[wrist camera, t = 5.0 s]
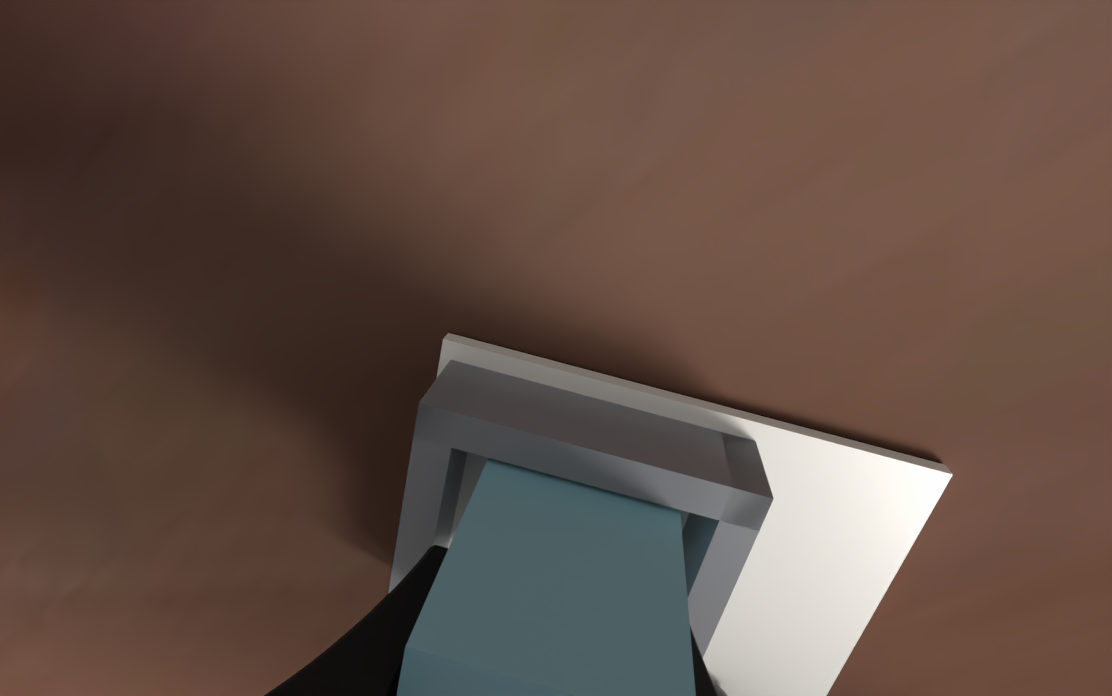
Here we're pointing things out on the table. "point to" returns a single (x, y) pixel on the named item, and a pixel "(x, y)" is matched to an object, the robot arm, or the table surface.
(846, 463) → the board
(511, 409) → the end holder
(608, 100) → the table surface
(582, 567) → the pale blue cube
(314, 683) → the robot arm
